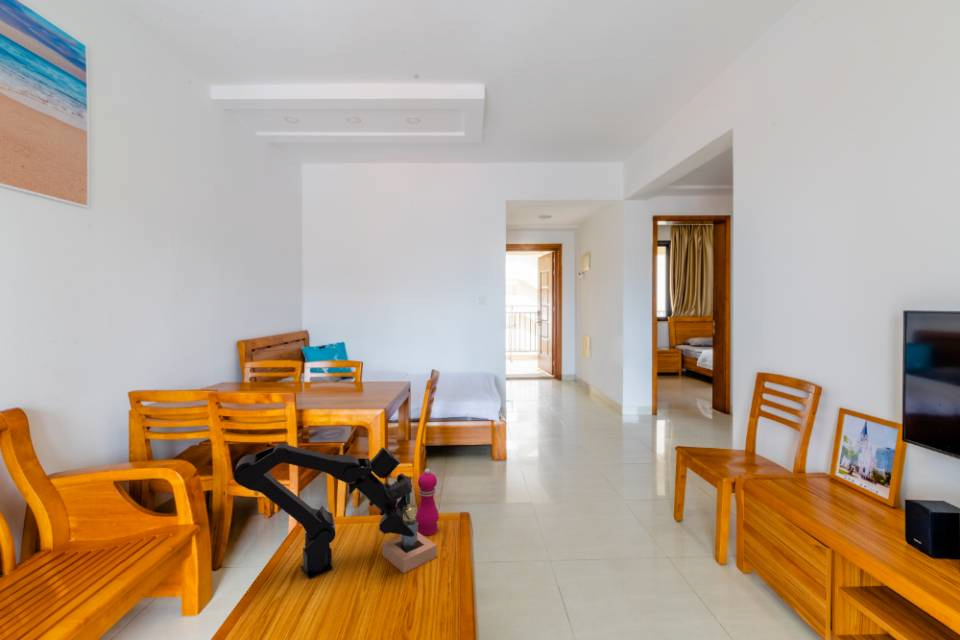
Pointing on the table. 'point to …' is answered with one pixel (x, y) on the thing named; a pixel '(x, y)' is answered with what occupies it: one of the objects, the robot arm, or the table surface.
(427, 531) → the pepper mill
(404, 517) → the tube
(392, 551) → the socket block
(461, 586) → the table surface
